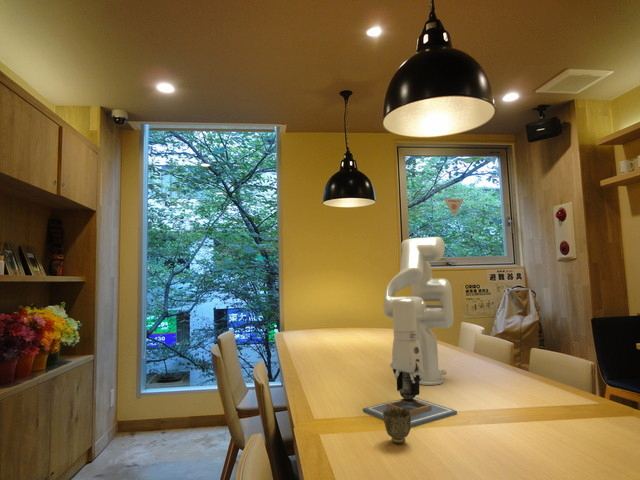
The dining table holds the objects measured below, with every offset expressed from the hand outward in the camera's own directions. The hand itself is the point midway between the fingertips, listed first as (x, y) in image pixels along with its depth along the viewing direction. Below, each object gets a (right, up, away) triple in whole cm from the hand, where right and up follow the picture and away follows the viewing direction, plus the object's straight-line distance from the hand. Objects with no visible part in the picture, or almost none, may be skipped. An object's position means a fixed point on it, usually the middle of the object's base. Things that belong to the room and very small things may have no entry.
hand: (408, 392), depth 133 cm
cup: (-8, -5, -24) cm, 26 cm away
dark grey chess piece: (0, -3, 0) cm, 3 cm away
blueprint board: (0, -6, -1) cm, 6 cm away
